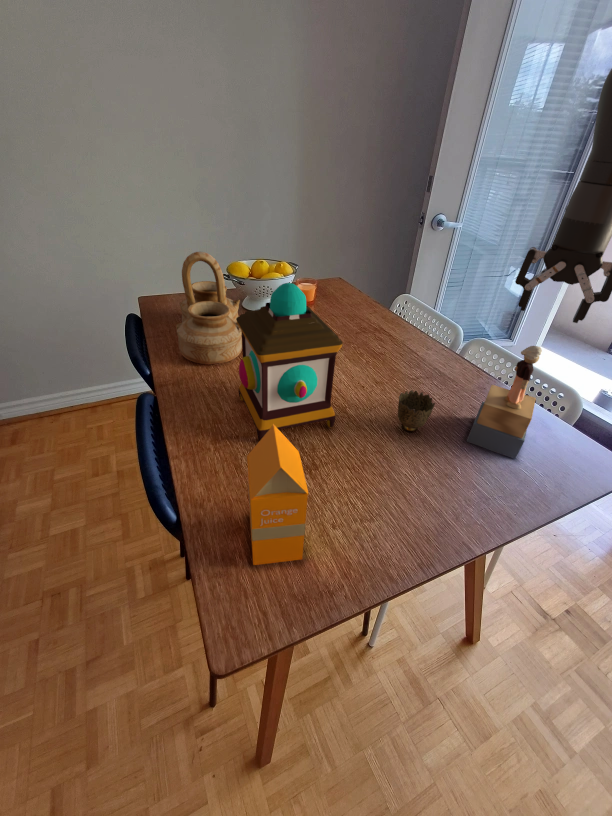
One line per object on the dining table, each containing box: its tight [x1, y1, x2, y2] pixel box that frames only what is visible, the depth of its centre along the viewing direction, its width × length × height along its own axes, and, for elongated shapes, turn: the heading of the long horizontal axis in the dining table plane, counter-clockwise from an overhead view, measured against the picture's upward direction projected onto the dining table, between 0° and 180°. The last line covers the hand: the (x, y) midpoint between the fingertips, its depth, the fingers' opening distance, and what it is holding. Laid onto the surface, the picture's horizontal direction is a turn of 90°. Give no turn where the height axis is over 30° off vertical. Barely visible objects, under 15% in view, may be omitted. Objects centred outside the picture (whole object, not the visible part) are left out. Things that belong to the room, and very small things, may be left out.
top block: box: [477, 384, 537, 438], centre depth 84 cm, size 9×9×5 cm
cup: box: [397, 390, 436, 434], centre depth 86 cm, size 8×7×8 cm
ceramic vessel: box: [175, 251, 242, 365], centre depth 111 cm, size 34×18×25 cm, turn 13°
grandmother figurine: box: [504, 345, 543, 409], centre depth 78 cm, size 8×4×13 cm, turn 178°
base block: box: [466, 401, 528, 460], centre depth 87 cm, size 10×10×5 cm
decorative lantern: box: [236, 282, 344, 442], centre depth 82 cm, size 20×20×30 cm
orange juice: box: [246, 424, 310, 566], centre depth 58 cm, size 8×9×20 cm
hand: (548, 315), depth 71 cm, fingers open, 8 cm apart
